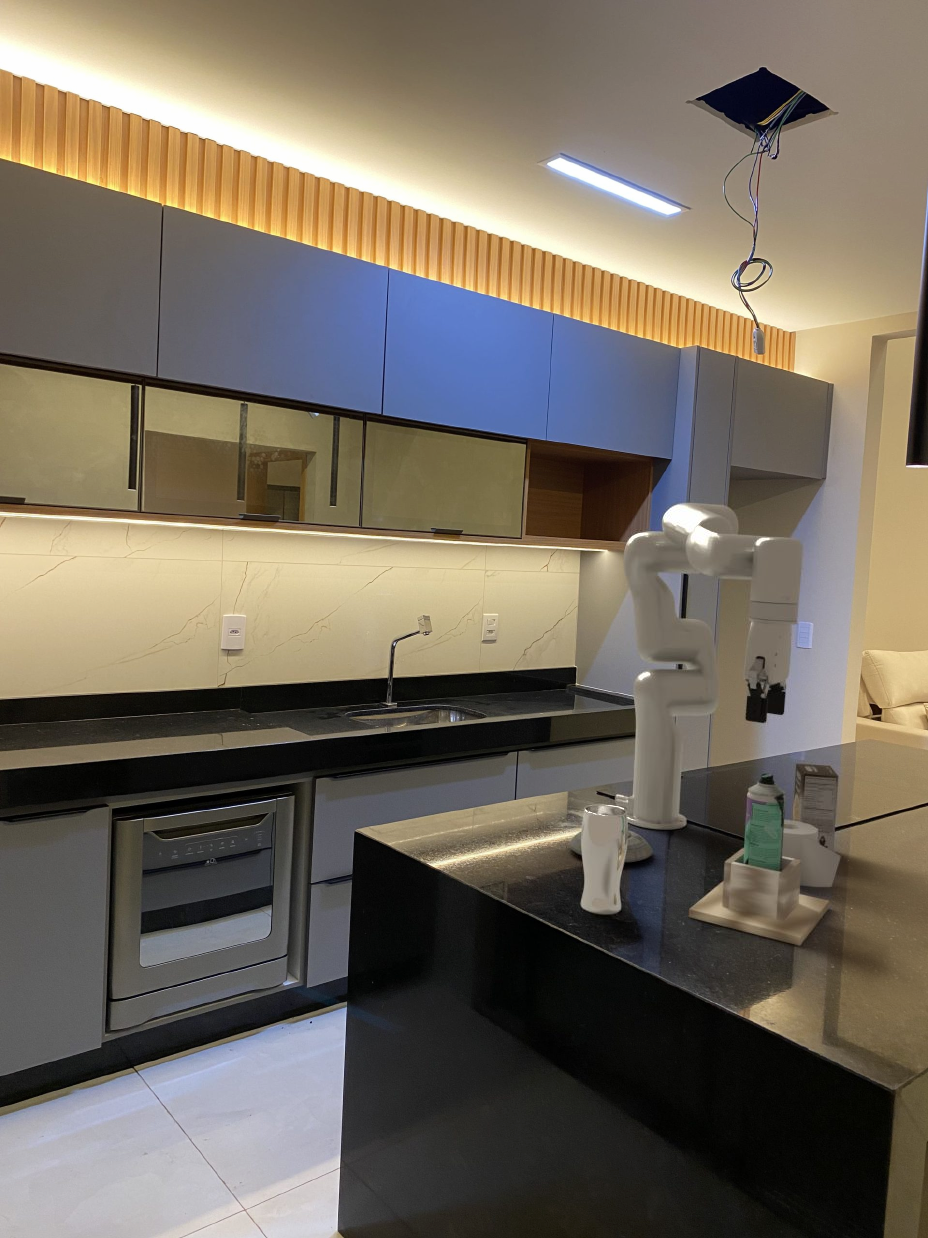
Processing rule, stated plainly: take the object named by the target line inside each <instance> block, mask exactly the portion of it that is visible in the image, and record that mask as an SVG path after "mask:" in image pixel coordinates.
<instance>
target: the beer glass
mask: <svg viewBox="0 0 928 1238" xmlns="http://www.w3.org/2000/svg"><path fill="white" fill-rule="evenodd" d="M627 813H628V811H627V808H624V807H622V806H618V805H613V804H603V803H602V804H601V803H597V804H596V803H594V804H588V805H586V806H584V808H583V814H582V823H581V830H580V832H581V850H582V855H581V857H582V858H581V859H582V865H583V875H584V877H583V878H584V885H583V892H582V895H581V900H580V907H581V908H582V909H583V910H585V911H587V912H589V913H592V914H595V915H614V914H615V915H616V914H618V913H619V912H620V911H621V910H622V902H621V895H620V894H621V892H620V887H621V877H622V873H623V869H624V865H625V862H624V861H625V856H626V851H627V842H628V830H629V825H628V823H629V822H628V817H627Z"/></svg>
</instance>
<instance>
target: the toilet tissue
mask: <svg viewBox="0 0 928 1238" xmlns="http://www.w3.org/2000/svg"><path fill="white" fill-rule="evenodd" d="M817 842H818V829H817V828H815V827H814V826H812V825H810V824H807V823H803V822H799V821H795V820H793V819H785V818H784V831H783V847H782V856H784V857H789V858H794V859H799V860H802V861H801V876H800V886H802V887H803V886H804V887H810V888H811V887H812V888H832V887H833V884H834V879H835V877H836V873H837V870H838V866H839V864H840V860H841V857H842V856H841V855H840V854H838V853H836V852H834V850H833V851H831V850H829V849H827V848H825V847H824V846H822V845H820V844H818V843H817Z"/></svg>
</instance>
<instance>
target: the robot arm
mask: <svg viewBox="0 0 928 1238" xmlns="http://www.w3.org/2000/svg"><path fill="white" fill-rule="evenodd" d="M661 527H662V528H661V529H662V531H658V530H657V531H656V530H654V531H653V530H652V531H651V530H649V531H642V532H638V533H636V534H635V533H634V534H633V535H632V536H631V537H630V538H628V540H627V541H626V543H625V548H624V551H623V571H624V575H625V576H624V577H625V579H626V582H627V585H628V588H629V591H630V594H631V598H632V603H633V615H634V617H633V618H634V629H635V638H636V648H637V652H638V655H639V657H640V659H642V661H644V662H647V663H651V664H652V663H653V664H673V665H675V664H676V665H685V667H686V669H679V668H653V669H648V670H645V671H643V672H641V673H639V674H638V675H637V676H636V677H635V679H634V683H633V687H632V688H633V689H632V691H633V700H634V701H633V702H634V709H635V710H634V711H635V740H634V741H635V744H634V746H635V747H634V762H633V766H634V767H633V768H634V769H633V780H632V781H633V785H632V795H630V796H626V795H622V794H619V793H618V794H616V795H615V797H614V802H615V806H618V807H623V808H624V807H625V809H626V810H627V811H628V813H627V817H628V823H629V824H631V825H634V826H636V827H640V828H645V829H650V830H651V829H653V830H664V831H665V830H669V831H670V830H676V829H677V830H679V829H682V828H684V827H685V826H686V825H687V817H685V816H684V815H682V814H680V801H681V800H680V799H681V784H682V783H681V782H682V781H681V780H682V765H683V764H682V763H683V750H684V749H683V746H684V745H683V744H684V743H683V742H684V741H683V739H684V738H683V735H682V732H681V730H680V729H679V727H678V725H677V724H676V722H675V721H674V718H673V717H679V716H681V717H682V716H686V717H689V716H690V717H692V716H693V717H697V716H701V717H702V716H708V715H711V714H712V713H713V714H714V712H715V711H716V709H717V708H718V705H719V702H720V681H719V674H718V673H719V672H718V661H717V653H716V652H717V651H716V644H715V638H714V633H713V631H712V630H711V628H710V626H709V625H708V624H707V623H706V622H704V621H702V620H701V619H696V618H695V619H694V618H680V617H678V615H677V612H676V604H675V597H674V593H673V592H672V590H671V589H670V587H669V586H668V585H667V583H666V582H665V581H664V579H663V578H662V577H661V576H659V574H660V573H662V574H664V573H666V574H684V575H685V574H687V575H698V574H703V575H705V576H707V577H710V578H712V579H713V578H714V579H723V580H724V579H725V580H727V579H728V580H745V581H746V580H747V581H750V583H751V584H750V594H749V595H750V596H749V607H748V608H749V610H748V622H750V627H749V629H748V630H749V631H748V635H747V642H746V650H745V657H744V665H743V671H742V678H743V681H744V682H745V683H747V684H746V686H747V690H746V703H745V704H746V706H745V716H744V717H745V721H747V722H752V723H753V722H754V723H760V724H766V722H767V721H768V719H767V718H768V714H770V715H771V714H772V715H777V716H782V715H784V714H785V705H786V695H787V694H786V693H787V690H786V689H787V681H786V680H787V679H788V678H789V674H790V666H791V654H792V652H791V651H792V625H793V626H794V625H798V620H799V619H798V617H799V606H800V605H799V603H800V592H801V580H802V579H801V578H802V569H803V568H802V567H803V557H804V547H803V546H804V544H803V543H802V541H800V540H799V539H797V538H796V537H795V538H794V537H786V536H785V537H783V536H780V537H779V536H765V535H761V536H760V535H752V534H751V535H750V534H739V533H738V532H739V520H738V517H737V515H736V513H735V511H734V510H733V509H731V508H730V507H729V506H727V505H724V504H712V503H710V504H709V503H699V502H698V503H697V502H681V503H677V504H675V505H672V506H671V507H669V509H668V510H667V511H666V512H665V513H663V517H662V520H661Z"/></svg>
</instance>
